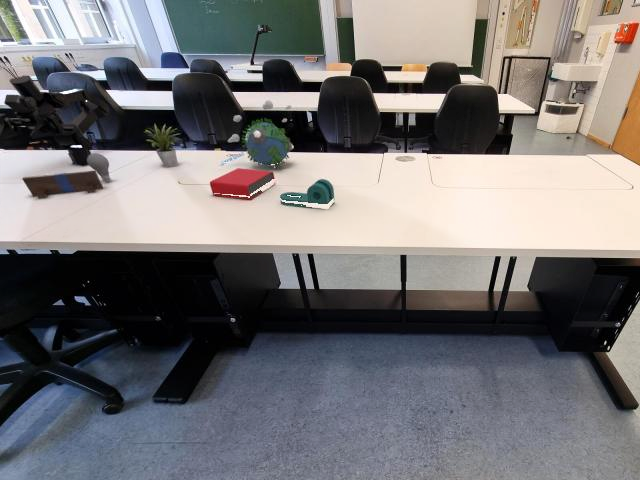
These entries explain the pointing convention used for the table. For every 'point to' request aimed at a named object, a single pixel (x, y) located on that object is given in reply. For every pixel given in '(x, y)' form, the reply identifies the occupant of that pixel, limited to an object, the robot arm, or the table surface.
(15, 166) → the table surface
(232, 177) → the red book
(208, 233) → the table surface
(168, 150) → the house plant
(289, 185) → the table surface
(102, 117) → the robot arm
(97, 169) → the light bulb
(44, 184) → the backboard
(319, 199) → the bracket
